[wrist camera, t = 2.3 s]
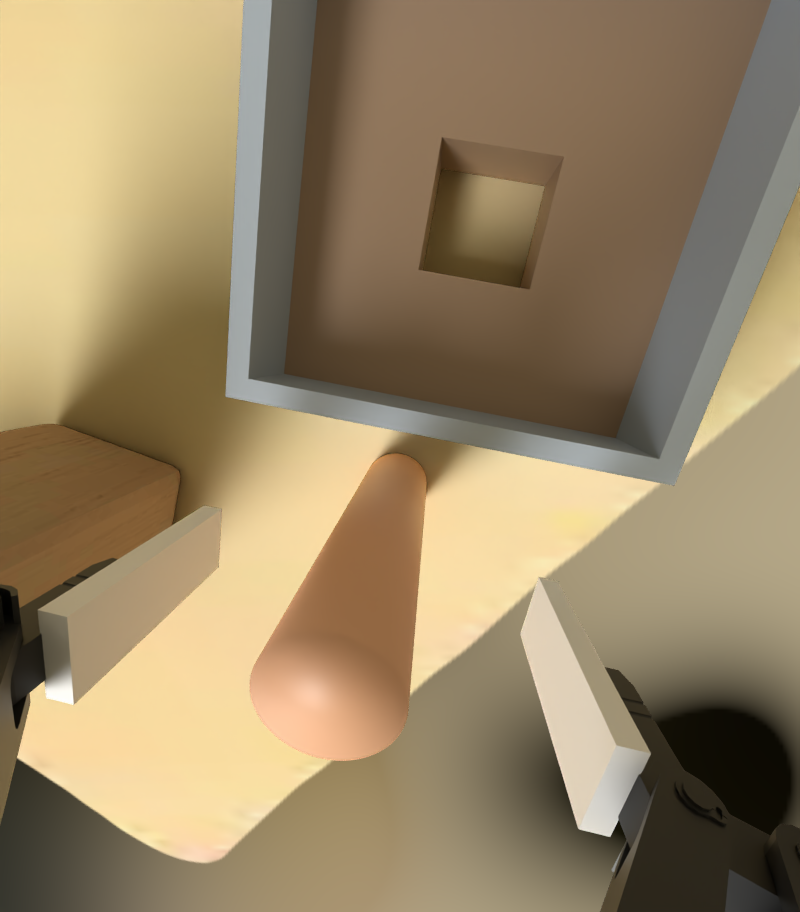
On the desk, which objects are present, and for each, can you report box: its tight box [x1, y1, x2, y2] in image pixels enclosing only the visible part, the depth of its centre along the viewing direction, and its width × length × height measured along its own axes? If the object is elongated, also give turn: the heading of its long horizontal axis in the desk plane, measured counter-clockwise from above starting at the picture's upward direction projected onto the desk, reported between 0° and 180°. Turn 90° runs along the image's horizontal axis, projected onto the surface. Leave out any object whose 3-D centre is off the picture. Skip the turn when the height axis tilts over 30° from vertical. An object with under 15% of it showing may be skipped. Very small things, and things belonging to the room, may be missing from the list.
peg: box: [250, 453, 427, 761], centre depth 17 cm, size 4×4×16 cm
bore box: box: [226, 0, 800, 486], centre depth 17 cm, size 20×20×7 cm
